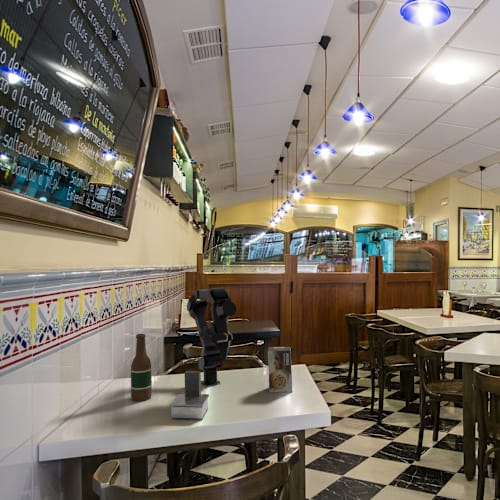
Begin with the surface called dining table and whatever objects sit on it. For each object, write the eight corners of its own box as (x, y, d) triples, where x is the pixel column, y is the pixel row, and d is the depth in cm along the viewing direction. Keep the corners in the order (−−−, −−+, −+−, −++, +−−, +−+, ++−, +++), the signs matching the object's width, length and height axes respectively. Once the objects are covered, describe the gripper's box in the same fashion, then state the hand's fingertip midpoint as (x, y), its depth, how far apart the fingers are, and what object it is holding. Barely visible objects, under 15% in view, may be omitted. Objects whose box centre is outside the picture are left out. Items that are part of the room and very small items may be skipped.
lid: (179, 395, 130) (178, 370, 130) (208, 396, 129) (208, 370, 129) (170, 406, 120) (169, 379, 120) (202, 406, 119) (202, 379, 119)
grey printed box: (292, 387, 149) (291, 346, 149) (292, 392, 142) (291, 350, 143) (269, 386, 150) (268, 346, 150) (268, 392, 143) (267, 350, 144)
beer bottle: (146, 402, 136) (145, 336, 137) (126, 401, 137) (126, 336, 138) (155, 395, 143) (154, 332, 144) (137, 394, 145) (136, 332, 146)
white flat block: (179, 408, 129) (179, 397, 129) (208, 409, 128) (207, 397, 128) (171, 419, 120) (171, 407, 120) (202, 420, 119) (201, 407, 119)
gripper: (204, 322, 157) (208, 361, 153) (194, 321, 139) (198, 364, 135) (230, 319, 156) (235, 357, 153) (224, 317, 138) (229, 360, 134)
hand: (224, 360), depth 144 cm, fingers closed
